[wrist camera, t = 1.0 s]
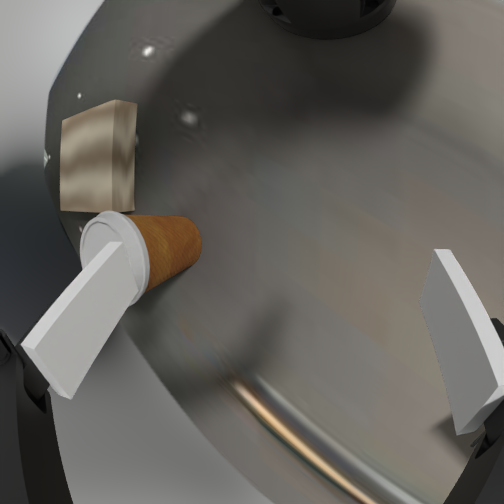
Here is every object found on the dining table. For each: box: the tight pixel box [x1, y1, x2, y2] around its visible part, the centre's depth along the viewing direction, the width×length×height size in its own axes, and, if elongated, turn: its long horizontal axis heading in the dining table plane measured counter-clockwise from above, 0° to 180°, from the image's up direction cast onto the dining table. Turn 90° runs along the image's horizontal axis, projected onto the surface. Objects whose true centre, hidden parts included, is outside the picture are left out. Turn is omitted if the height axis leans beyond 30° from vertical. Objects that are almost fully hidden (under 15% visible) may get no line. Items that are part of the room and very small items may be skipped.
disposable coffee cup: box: [80, 211, 201, 306], centre depth 32 cm, size 10×10×12 cm
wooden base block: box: [60, 100, 137, 213], centre depth 40 cm, size 15×15×4 cm
